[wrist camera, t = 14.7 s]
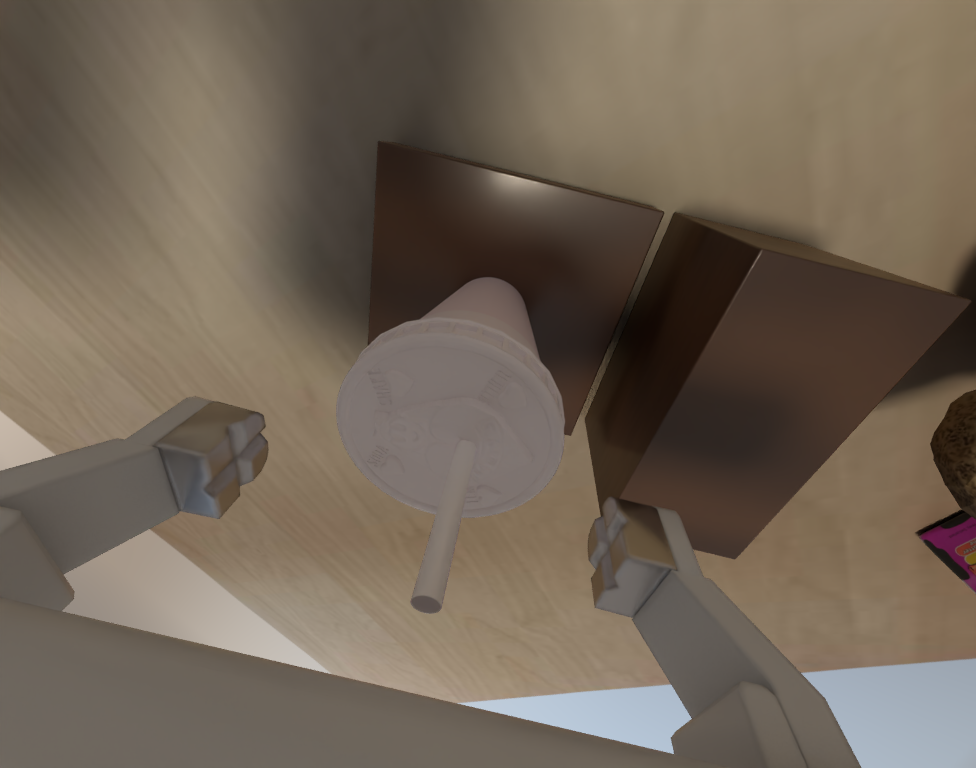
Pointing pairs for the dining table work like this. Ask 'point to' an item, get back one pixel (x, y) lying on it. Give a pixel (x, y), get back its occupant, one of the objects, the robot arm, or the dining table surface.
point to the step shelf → (662, 331)
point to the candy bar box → (956, 546)
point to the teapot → (958, 451)
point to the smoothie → (454, 417)
